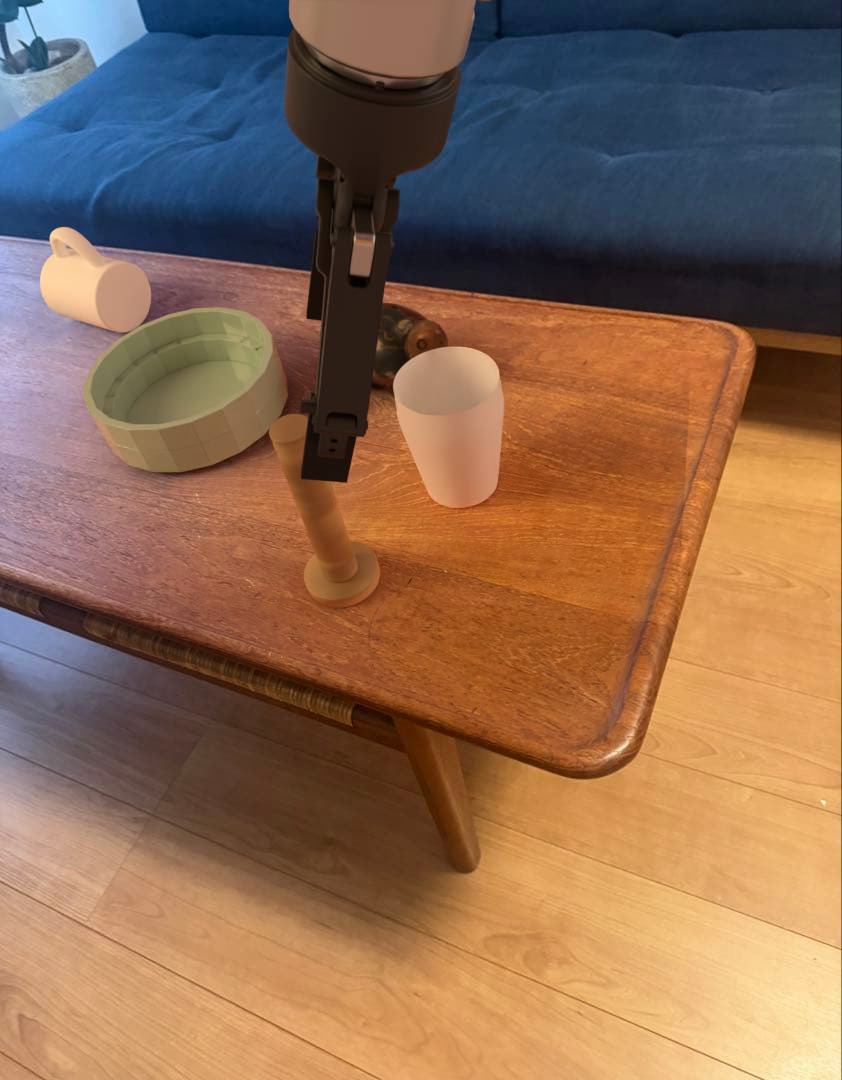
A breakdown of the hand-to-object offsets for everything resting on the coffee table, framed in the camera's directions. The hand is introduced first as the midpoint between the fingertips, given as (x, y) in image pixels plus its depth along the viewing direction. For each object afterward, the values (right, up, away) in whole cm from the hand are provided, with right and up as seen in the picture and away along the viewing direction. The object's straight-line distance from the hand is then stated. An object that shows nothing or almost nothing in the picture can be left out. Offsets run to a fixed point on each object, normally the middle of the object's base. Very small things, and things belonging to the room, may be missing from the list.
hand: (325, 391), depth 52 cm
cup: (+10, -4, +23) cm, 26 cm away
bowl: (-18, +4, +36) cm, 40 cm away
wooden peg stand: (-1, -13, +18) cm, 22 cm away
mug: (-33, +18, +51) cm, 64 cm away
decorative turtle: (+3, +8, +35) cm, 36 cm away
